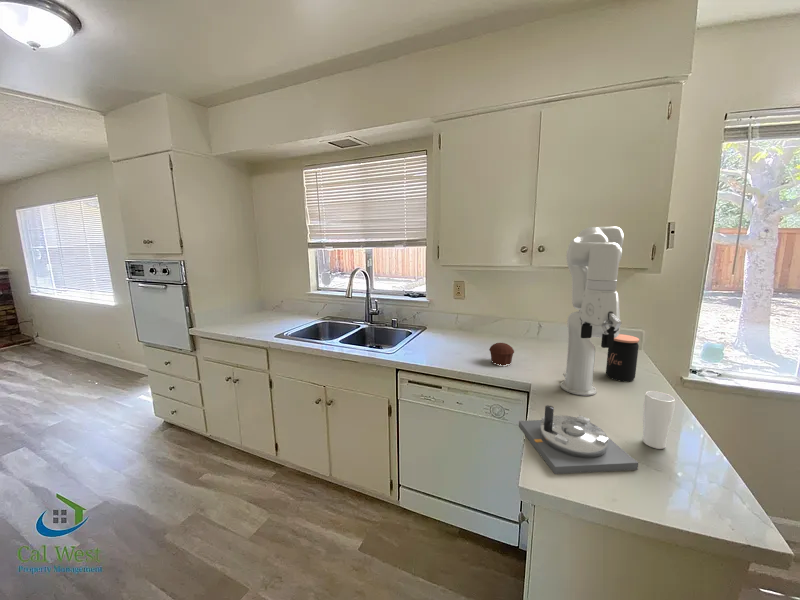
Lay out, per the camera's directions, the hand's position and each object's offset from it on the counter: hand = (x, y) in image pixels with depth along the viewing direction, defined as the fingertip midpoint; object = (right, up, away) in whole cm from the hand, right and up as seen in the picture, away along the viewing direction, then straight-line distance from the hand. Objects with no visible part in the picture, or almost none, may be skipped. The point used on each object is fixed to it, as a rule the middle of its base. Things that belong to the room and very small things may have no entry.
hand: (595, 342), depth 99 cm
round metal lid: (-9, -27, -4) cm, 29 cm away
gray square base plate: (-9, -29, -4) cm, 31 cm away
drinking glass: (+15, -29, -3) cm, 33 cm away
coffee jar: (+37, -21, +44) cm, 61 cm away
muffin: (-9, -19, +63) cm, 66 cm away
